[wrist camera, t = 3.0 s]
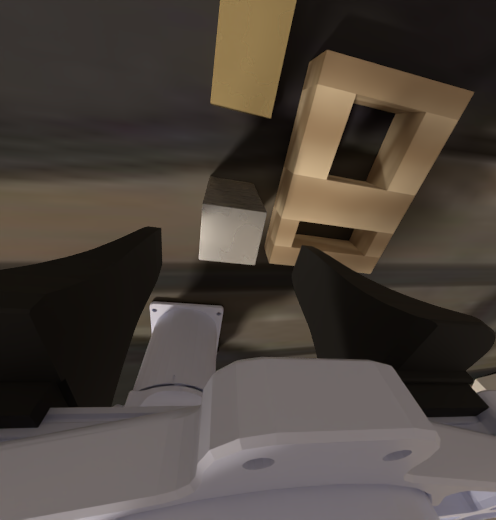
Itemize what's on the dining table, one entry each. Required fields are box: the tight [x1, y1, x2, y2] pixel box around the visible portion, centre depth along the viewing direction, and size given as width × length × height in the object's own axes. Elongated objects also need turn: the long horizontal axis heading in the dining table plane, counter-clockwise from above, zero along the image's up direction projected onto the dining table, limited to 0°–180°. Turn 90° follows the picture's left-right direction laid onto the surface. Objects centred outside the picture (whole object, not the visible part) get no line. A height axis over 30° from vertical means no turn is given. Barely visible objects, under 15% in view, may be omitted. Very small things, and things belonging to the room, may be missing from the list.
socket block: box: [264, 50, 474, 274], centre depth 18 cm, size 14×10×3 cm
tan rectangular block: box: [211, 0, 297, 119], centre depth 14 cm, size 6×4×2 cm, turn 168°
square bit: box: [199, 176, 267, 265], centre depth 16 cm, size 4×4×7 cm
